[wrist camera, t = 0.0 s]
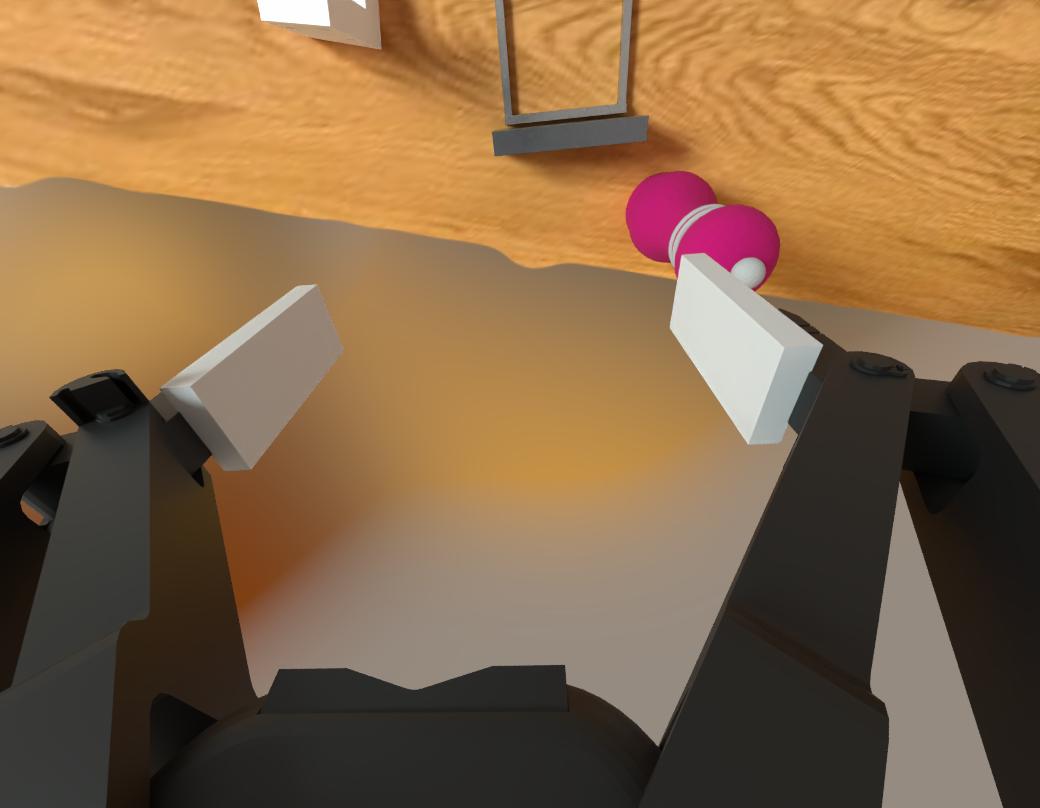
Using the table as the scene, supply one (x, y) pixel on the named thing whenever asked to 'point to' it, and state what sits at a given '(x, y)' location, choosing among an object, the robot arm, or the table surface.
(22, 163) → the table surface
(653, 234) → the pepper mill
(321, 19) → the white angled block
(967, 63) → the table surface
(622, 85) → the rail plate
